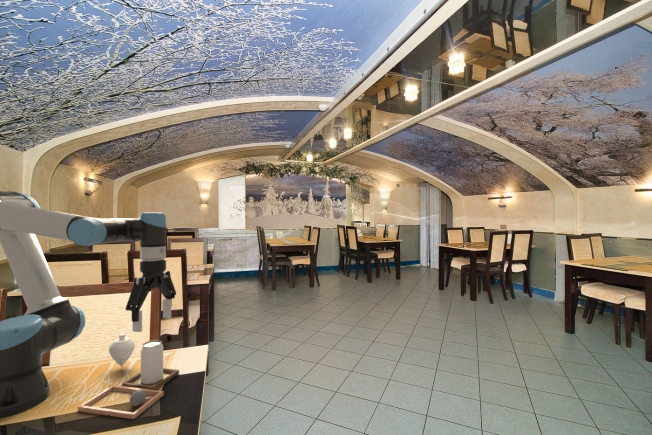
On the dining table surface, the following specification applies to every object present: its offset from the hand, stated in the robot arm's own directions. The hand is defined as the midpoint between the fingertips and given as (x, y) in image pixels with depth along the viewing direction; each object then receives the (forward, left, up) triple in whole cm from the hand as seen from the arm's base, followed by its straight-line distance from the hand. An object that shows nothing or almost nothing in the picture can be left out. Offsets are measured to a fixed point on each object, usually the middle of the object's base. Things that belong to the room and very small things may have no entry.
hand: (153, 324), depth 105 cm
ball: (+6, -13, -18) cm, 23 cm away
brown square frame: (0, 0, -18) cm, 18 cm away
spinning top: (-16, +5, -19) cm, 25 cm away
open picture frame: (+1, -13, -18) cm, 22 cm away
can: (0, 0, -19) cm, 19 cm away
